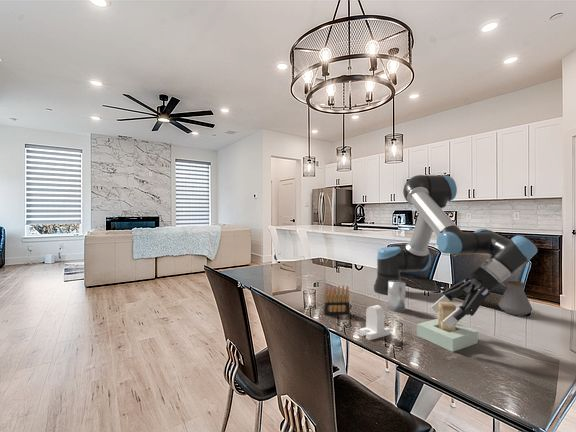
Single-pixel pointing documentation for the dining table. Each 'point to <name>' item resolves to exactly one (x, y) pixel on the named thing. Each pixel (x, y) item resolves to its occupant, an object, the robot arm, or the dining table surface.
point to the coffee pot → (515, 299)
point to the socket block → (447, 335)
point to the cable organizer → (374, 323)
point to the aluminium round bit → (396, 295)
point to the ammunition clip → (336, 301)
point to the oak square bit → (445, 315)
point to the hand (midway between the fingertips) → (439, 316)
